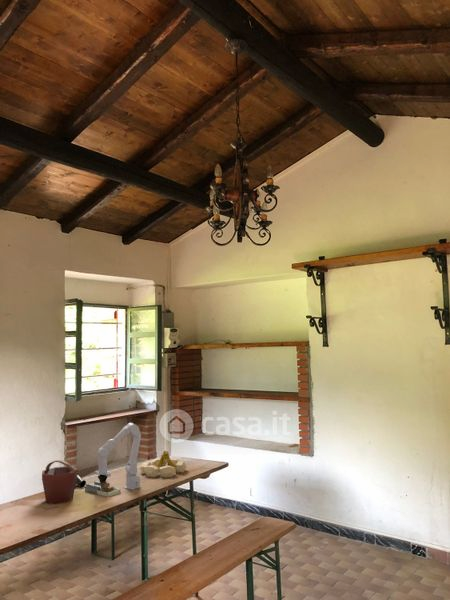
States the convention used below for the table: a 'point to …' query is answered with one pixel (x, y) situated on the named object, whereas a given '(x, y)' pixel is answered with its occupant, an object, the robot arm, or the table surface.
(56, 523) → the table surface
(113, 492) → the tray
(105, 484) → the block
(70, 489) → the bucket
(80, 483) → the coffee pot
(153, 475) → the campfire
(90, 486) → the rail
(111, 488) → the block
